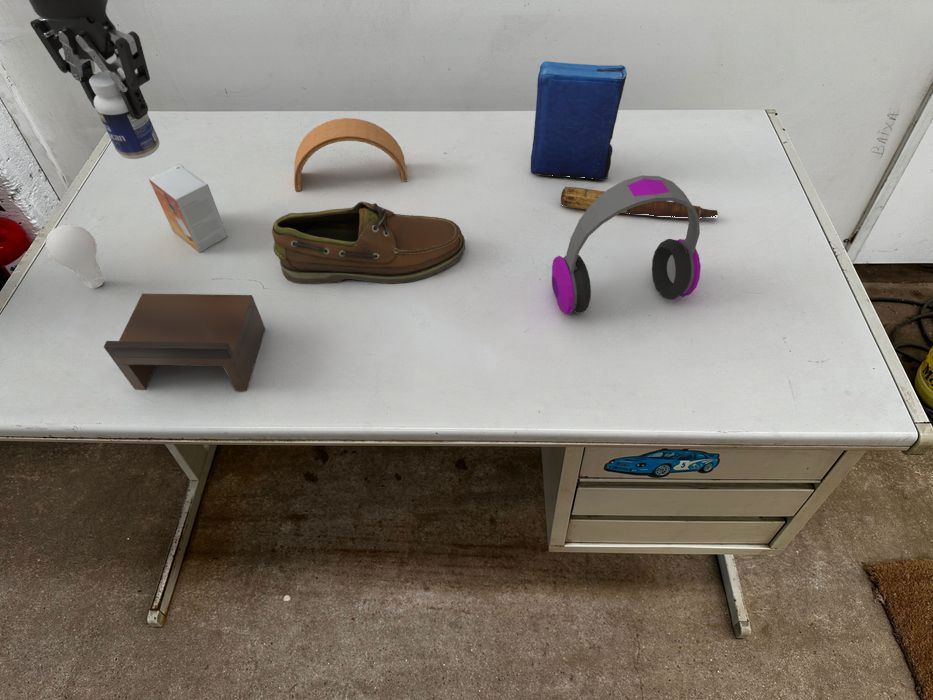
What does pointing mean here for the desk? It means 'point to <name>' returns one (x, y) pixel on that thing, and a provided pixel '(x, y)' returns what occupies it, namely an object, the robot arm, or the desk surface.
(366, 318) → the desk surface
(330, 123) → the arch
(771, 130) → the desk surface
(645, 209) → the hand tool
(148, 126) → the pill bottle
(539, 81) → the book
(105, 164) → the desk surface
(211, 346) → the shelf
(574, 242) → the headphones
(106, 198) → the desk surface
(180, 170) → the small box
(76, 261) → the lightbulb
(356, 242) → the boat shoe
